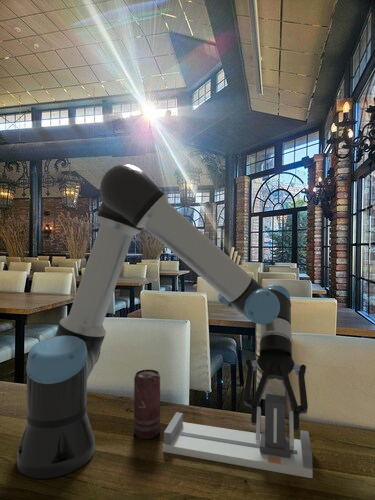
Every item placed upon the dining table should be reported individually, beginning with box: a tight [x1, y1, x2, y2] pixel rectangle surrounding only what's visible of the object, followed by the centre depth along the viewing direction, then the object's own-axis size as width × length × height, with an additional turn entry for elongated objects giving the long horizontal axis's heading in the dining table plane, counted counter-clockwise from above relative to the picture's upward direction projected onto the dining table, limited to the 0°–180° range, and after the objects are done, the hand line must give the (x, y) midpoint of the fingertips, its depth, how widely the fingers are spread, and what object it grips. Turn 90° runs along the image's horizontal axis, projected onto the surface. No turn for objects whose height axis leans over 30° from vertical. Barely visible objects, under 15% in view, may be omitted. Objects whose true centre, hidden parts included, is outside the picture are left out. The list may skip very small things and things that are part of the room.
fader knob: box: [260, 393, 291, 457], centre depth 69 cm, size 6×5×10 cm
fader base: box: [162, 412, 314, 479], centre depth 71 cm, size 30×10×4 cm, turn 75°
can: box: [133, 369, 161, 440], centre depth 78 cm, size 6×6×14 cm
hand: (274, 445), depth 66 cm, fingers open, 6 cm apart
